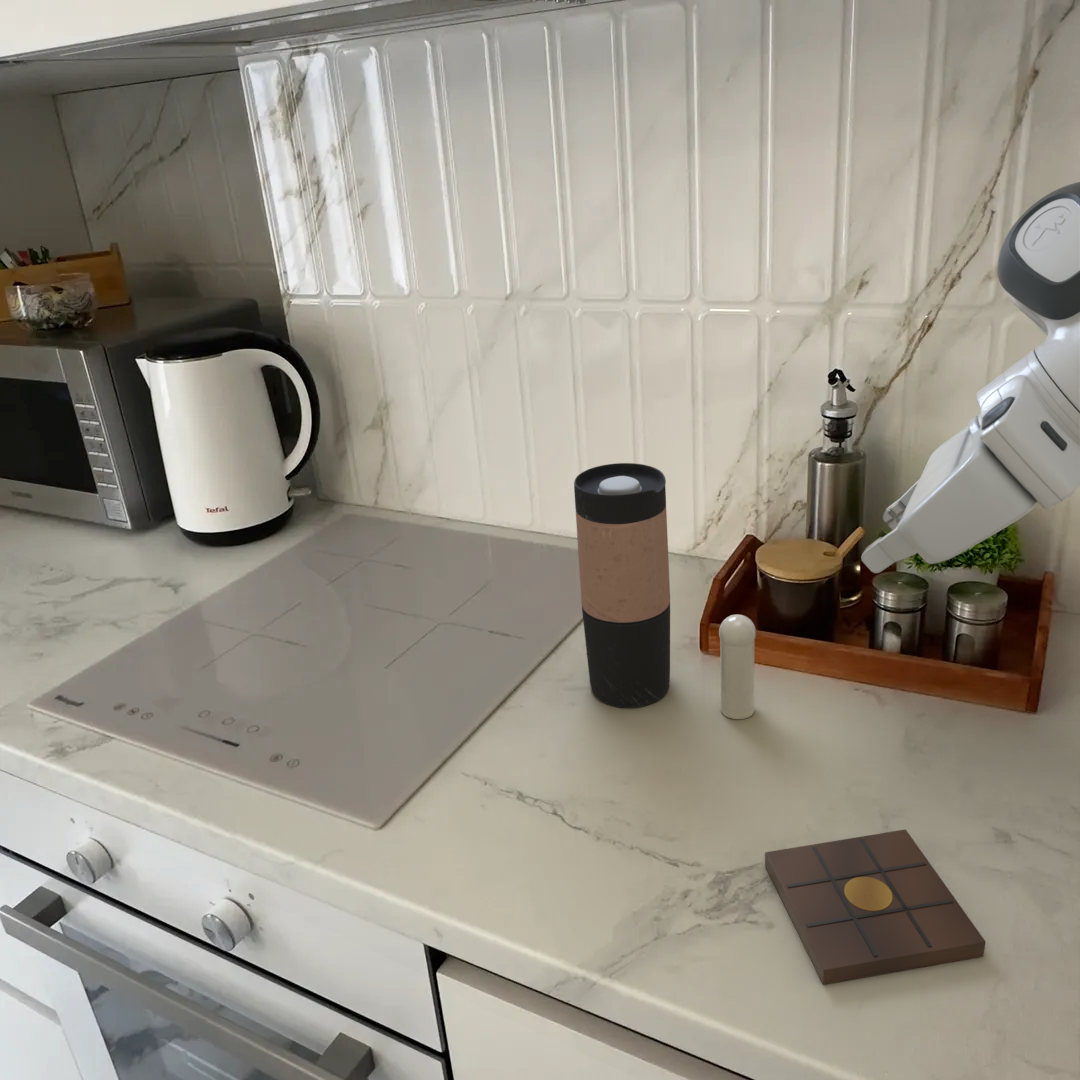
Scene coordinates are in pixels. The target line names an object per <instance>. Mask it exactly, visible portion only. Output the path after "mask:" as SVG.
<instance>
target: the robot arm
mask: <svg viewBox="0 0 1080 1080" xmlns="http://www.w3.org/2000/svg"><path fill="white" fill-rule="evenodd" d="M998 255H999V256H998V260H997V270H996V271H997V279H998V281H999V283H1000V285H1001V287H1002V288H1003V290H1004V292H1005V294H1006V296H1007V297H1008V299H1009V300H1010V301H1011V303H1012V304H1013V305H1014V306H1015V307H1016V308H1017V309H1018V310H1019V311H1021V312H1022V314H1024V315H1025V316H1026V317H1027V318H1028V319H1030V320H1031V321H1032V322H1033V323H1034V324H1035V325H1036V327H1037V328H1038V329H1039V330H1040V331H1041V332H1042V333H1043V334H1045V335H1046V338H1045V339H1044V341H1043V342H1042V343H1041V344H1039V345H1037V346H1036V347H1034V348H1033V349H1032V350H1030V351H1029V352H1028V353H1027V354H1025V355H1024V356H1023V357H1021V358H1020V359H1019V360H1018V361H1016V362H1015V363H1014V364H1012V365H1011V366H1010V367H1008V368H1007V369H1006V370H1005V371H1003V372H1002V373H1001V374H999V375H997V376H996V377H995V378H994V379H993V380H992V381H990V382H989V383H988V384H986V385H985V386H983V387H982V388H981V389H980V390H978V391H977V392H976V402H977V404H978V405H977V406H978V407H979V410H980V411H979V413H978V414H977V415H975V416H974V417H972V418H971V419H970V420H969V421H968V423H967V426H965V427H963V429H961V430H959V431H958V432H957V433H955V434H954V435H952V437H950V438H948V439H947V440H945V441H944V442H943V443H942V444H941V445H939V446H938V447H937V448H936V449H935V450H934V451H933V452H932V453H931V454H930V456H929V458H928V461H927V463H926V465H925V467H924V469H923V471H922V473H921V475H920V478H919V479H918V480H917V481H916V482H915V483H913V485H911V486H910V488H908V490H907V491H905V492H904V494H903V495H902V496H901V497H900V498H898V499H897V500H896V501H893V503H892V504H890V505H889V506H888V507H886V509H885V510H884V512H883V514H882V520H883V522H884V523H885V524H886V525H887V526H888V527H889V528H890V529H891V531H890V532H888V533H887V534H885V535H884V536H880V537H879V538H877V539H876V540H874V541H872V543H871V544H868V545H867V546H866V547H865V549H864V551H863V552H862V554H861V556H860V559H861V562H862V563H863V564H864V565H865V566H866V568H868V570H869V571H870V572H872V573H873V574H879V573H881V572H883V571H884V570H886V569H887V568H889V567H890V566H892V565H893V564H894V563H897V562H900V561H903V560H904V559H908V558H910V557H913V556H915V555H917V554H918V556H919V557H920V558H921V559H922V560H923V561H924V562H925V563H927V564H929V565H935V564H939V563H943V562H946V561H948V560H950V559H953V558H955V557H957V556H959V555H961V554H963V553H964V552H965V551H967V550H970V549H971V548H972V547H973V548H974V547H975V546H976V545H978V544H980V543H981V542H984V541H986V540H987V539H988V538H991V537H992V536H994V535H995V534H997V533H999V532H1000V531H1002V530H1004V529H1006V528H1007V527H1009V526H1010V525H1013V524H1014V523H1015V522H1017V521H1019V520H1020V519H1022V518H1023V517H1024V516H1026V515H1027V514H1028V513H1030V512H1031V511H1033V509H1034V508H1035V507H1036V506H1037V504H1039V505H1040V506H1041V507H1042V508H1043V509H1045V510H1051V509H1053V508H1055V507H1057V506H1058V505H1060V504H1061V503H1063V502H1064V501H1065V500H1067V499H1069V498H1070V497H1071V496H1072V495H1074V494H1075V492H1076V491H1077V489H1078V488H1079V486H1080V181H1078V182H1073V183H1070V184H1067V185H1064V186H1062V187H1059V188H1057V189H1055V190H1053V191H1051V192H1050V193H1048V194H1046V195H1044V196H1043V197H1041V198H1039V200H1037V201H1036V202H1034V203H1033V204H1032V205H1031V206H1030V207H1028V209H1026V210H1025V211H1024V212H1023V213H1022V214H1021V215H1020V217H1018V219H1016V221H1015V223H1014V224H1013V225H1012V226H1011V228H1010V229H1009V231H1008V232H1007V234H1006V237H1005V238H1004V240H1003V243H1002V244H1001V248H1000V251H999V254H998Z"/></svg>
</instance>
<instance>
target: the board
mask: <svg viewBox="0 0 1080 1080" xmlns="http://www.w3.org/2000/svg"><path fill="white" fill-rule="evenodd" d="M764 866H765V869H766V871H767V873H768V875H769V877H770V879H771V881H772V883H773V885H774V888H775V889H776V892H777V893H778V896H779V897H780V900H781V901H782V904H783V905H784V908H785V910H786V912H787V915H788V916H789V918H790V920H791V922H792V924H793V925H794V928H795V930H796V932H797V935H798V937H799V938H800V940H801V943H802V944H803V946H804V948H805V950H806V952H807V954H808V957H809V959H810V961H811V963H812V966H813V967H814V970H815V971H816V973H817V975H818V977H819V979H820V981H821V984H822V985H828V984H834V983H839V982H845V981H851V980H856V979H862V978H867V977H873V976H879V975H884V974H890V973H891V974H892V973H895V972H903V971H907V970H912V969H918V968H924V967H929V966H934V965H935V966H936V965H940V964H946V963H947V964H948V963H952V962H957V961H958V962H959V961H964V960H968V959H974V958H975V959H976V958H980V957H984V956H985V948H986V940H985V938H984V937H983V936H982V934H981V933H980V932H979V930H978V929H977V927H976V926H975V924H974V923H973V922H972V920H971V919H970V917H969V916H968V915H967V913H966V912H965V910H964V909H963V907H962V906H961V905H960V904H959V902H958V900H957V899H956V898H955V896H954V895H953V893H952V892H951V891H950V889H949V887H948V886H947V885H946V884H945V882H944V880H942V878H941V877H940V875H939V874H938V872H937V871H936V870H935V868H934V867H933V866H932V864H931V862H930V861H929V860H928V858H927V857H926V856H925V854H924V853H923V851H922V850H921V848H920V847H919V846H918V844H917V843H916V841H915V840H914V839H913V837H912V836H911V834H910V833H909V831H908V830H907V829H900V830H893V831H887V832H880V833H874V834H869V835H862V836H857V837H850V838H844V839H838V840H832V841H826V842H820V843H814V844H807V845H801V846H795V847H790V848H789V847H788V848H783V849H777V850H771V851H765V852H764Z"/></svg>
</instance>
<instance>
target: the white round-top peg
mask: <svg viewBox="0 0 1080 1080" xmlns="http://www.w3.org/2000/svg"><path fill="white" fill-rule="evenodd" d="M718 636H719V647H720V651H719V654H720V655H719V657H720V660H719V661H720V662H719V663H720V666H719V667H720V672H719V673H720V675H719V676H720V711H721V713H722V714H723V715H724V716H725V717H726V718H729V719H732V720H744V719H745V720H746V719H748V718H750V717H751V716H753V714H754V713H755V679H756V678H755V677H756V676H755V669H756V665H755V662H756V638H757V629H756V626H755V623H754V622H753V621H752V619H751V618H749V617H748V616H746V615H743V614H740V613H739V614H737V613H736V614H735V613H734V614H731V615H729V616H727V617H725V619H723V620H722V622H721V623H720V626H719V628H718Z"/></svg>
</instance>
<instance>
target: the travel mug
mask: <svg viewBox="0 0 1080 1080" xmlns="http://www.w3.org/2000/svg"><path fill="white" fill-rule="evenodd" d="M666 483H667V480H666V476H665V474H664V473H663V472H662V471H661V470H660V469H658V468H656V467H654V466H651V465H647V464H643V463H634V462H633V463H632V462H619V463H618V462H617V463H608V464H602V465H598V466H595V467H591V468H588V469H586V470H584V471H582V472H581V473H579V474H578V475H577V476H576V477H575V478H574V481H573V490H574V506H575V507H574V509H575V522H576V523H575V524H576V536H577V537H576V539H577V540H576V541H577V554H578V555H577V556H578V569H579V571H578V572H579V584H580V587H579V588H580V601H581V603H580V604H581V612H582V613H581V614H582V621H583V631H584V640H585V648H586V658H587V668H588V676H589V684H590V689H591V692H592V694H593V695H594V697H595V698H596V699H598V701H600V702H602V703H603V704H605V705H609V706H612V707H615V708H623V709H625V708H626V709H633V708H634V709H635V708H641V707H646V706H649V705H652V704H654V703H657V702H658V701H661V699H663V698H664V697H665V696H666V695H667V693H668V691H669V689H670V683H671V588H670V587H671V586H670V585H671V584H670V563H669V561H670V559H669V539H668V536H669V535H668V520H667V519H668V517H667V516H668V515H667V493H666V491H667V489H666Z"/></svg>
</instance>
